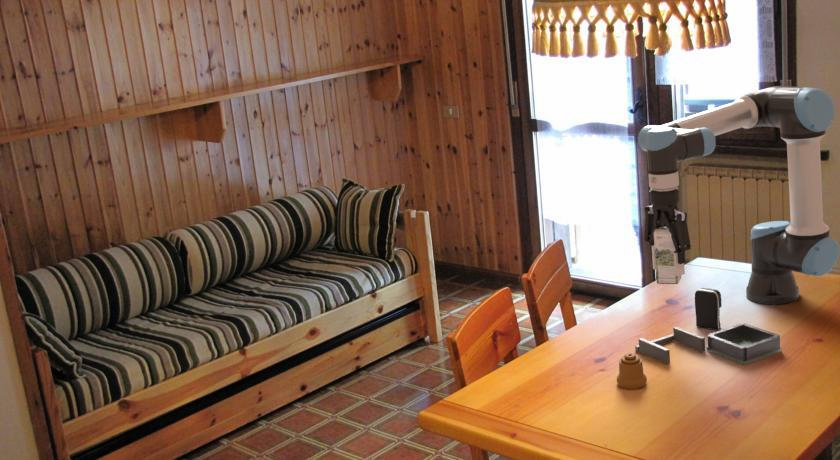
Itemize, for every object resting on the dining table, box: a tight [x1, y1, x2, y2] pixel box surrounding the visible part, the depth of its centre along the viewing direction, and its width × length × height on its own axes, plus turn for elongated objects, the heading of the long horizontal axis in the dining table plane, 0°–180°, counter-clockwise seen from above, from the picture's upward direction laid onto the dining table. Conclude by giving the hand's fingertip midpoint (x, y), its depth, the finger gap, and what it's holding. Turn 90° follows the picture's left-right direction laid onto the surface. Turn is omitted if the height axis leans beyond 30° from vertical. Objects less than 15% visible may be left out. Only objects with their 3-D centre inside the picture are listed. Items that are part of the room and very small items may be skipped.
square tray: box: [705, 322, 783, 366], centre depth 247 cm, size 13×13×4 cm
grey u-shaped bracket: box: [634, 326, 706, 365], centre depth 253 cm, size 13×13×4 cm
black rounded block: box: [694, 287, 722, 331], centre depth 266 cm, size 7×4×11 cm, turn 46°
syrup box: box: [654, 226, 682, 285], centre depth 246 cm, size 6×6×14 cm
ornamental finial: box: [616, 353, 648, 390], centre depth 235 cm, size 8×8×8 cm
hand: (668, 271), depth 247 cm, fingers closed on syrup box, 8 cm apart
